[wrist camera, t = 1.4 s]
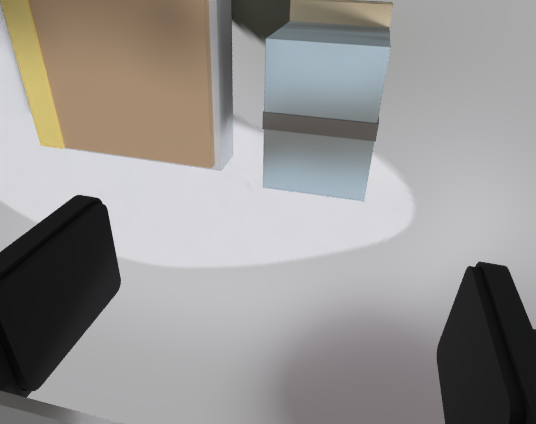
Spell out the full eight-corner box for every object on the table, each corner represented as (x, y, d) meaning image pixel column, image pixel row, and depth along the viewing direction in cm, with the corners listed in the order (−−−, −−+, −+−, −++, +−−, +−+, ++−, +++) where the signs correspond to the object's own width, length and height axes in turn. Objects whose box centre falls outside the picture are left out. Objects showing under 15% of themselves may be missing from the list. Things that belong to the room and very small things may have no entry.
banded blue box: (294, -3, 22) (264, 11, 16) (393, 2, 21) (396, 19, 16) (286, 154, 27) (261, 204, 21) (366, 164, 26) (361, 219, 20)
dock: (24, -71, 23) (-23, -74, 20) (230, -63, 21) (208, -65, 18) (71, 133, 29) (41, 151, 27) (233, 155, 27) (216, 176, 25)
